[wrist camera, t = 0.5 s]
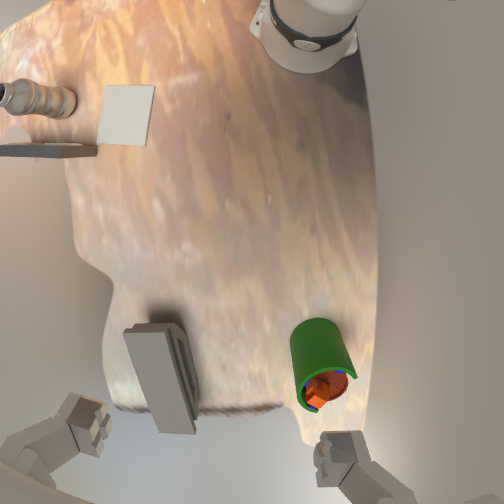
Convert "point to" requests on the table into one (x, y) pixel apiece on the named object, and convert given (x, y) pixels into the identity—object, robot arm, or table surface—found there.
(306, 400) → the motor
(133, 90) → the rubber pad
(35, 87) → the plastic bottle
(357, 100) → the table surface
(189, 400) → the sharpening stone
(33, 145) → the panel
